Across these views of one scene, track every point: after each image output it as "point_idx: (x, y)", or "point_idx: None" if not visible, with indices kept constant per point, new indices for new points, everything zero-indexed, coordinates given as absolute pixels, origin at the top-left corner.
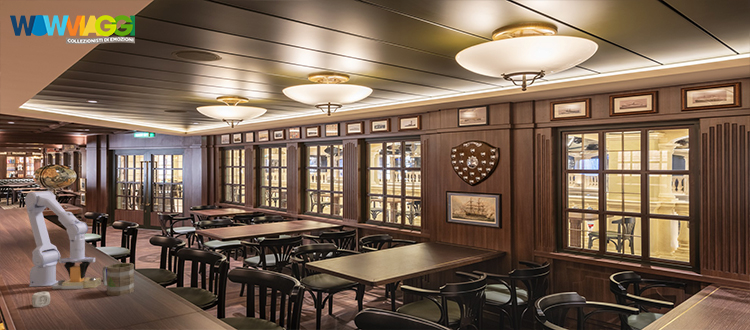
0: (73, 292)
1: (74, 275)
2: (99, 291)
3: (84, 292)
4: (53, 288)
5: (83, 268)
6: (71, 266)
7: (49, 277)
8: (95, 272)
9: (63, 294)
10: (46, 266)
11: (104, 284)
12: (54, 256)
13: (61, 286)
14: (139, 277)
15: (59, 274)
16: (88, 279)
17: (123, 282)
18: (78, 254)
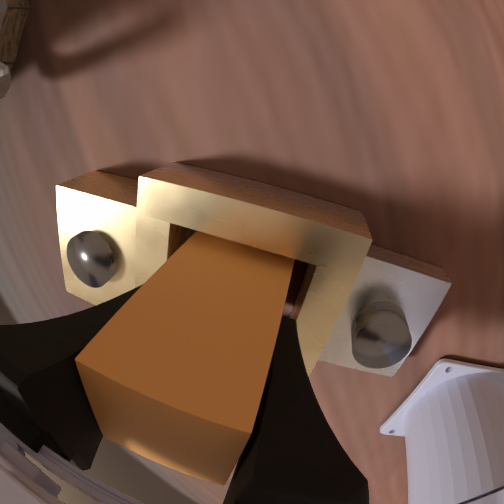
0: (225, 48)
1: (218, 300)
2: (56, 54)
3: (135, 33)
4: (435, 267)
5: (48, 322)
6: (242, 466)
7: (456, 421)
8: (231, 476)
9: (304, 5)
10: (491, 495)
11: (3, 76)
12: None
13: (376, 254)
14: (13, 310)
15: (369, 493)
16: (128, 277)
17: None
18: None
